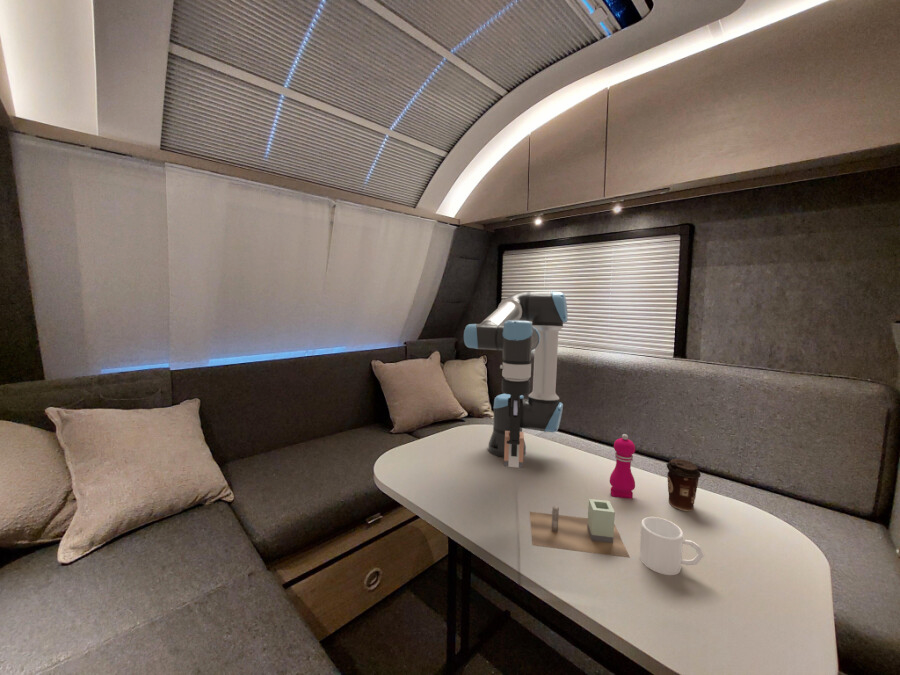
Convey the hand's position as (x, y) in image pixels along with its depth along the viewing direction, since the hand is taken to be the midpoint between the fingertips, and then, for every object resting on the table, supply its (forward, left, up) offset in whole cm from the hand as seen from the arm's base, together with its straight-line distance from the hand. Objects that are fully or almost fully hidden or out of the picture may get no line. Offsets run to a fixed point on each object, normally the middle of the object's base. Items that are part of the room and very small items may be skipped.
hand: (513, 461), depth 97 cm
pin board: (+5, +16, -17) cm, 24 cm away
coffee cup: (-17, +50, -17) cm, 55 cm away
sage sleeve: (+5, +22, -15) cm, 27 cm away
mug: (+13, +35, -17) cm, 41 cm away
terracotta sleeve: (0, 0, 0) cm, 0 cm away
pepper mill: (-19, +34, -17) cm, 42 cm away
